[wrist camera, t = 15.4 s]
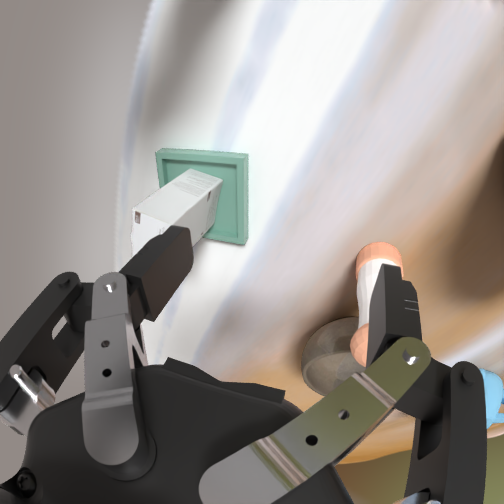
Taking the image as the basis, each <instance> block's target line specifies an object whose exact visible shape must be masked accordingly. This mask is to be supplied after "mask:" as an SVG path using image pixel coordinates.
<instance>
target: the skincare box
mask: <svg viewBox="0 0 504 504" xmlns="http://www.w3.org/2000/svg"><path fill="white" fill-rule="evenodd" d="M222 184H223V180H222V179H220V178H217V177H214V176H211V175H208V174H206V173H203V172H200V171H197V170H194V169H191V168H190V169H188V170H187V171H185V172H184V173H182V174H181V175H179V176H178V177H176V178H175V179H173V180H172V181H170V182H169V183H168V184H166V185H165V186H163V187H162V188H160V189H159V190H157V191H156V192H155V193H153V194H152V195H150V196H149V197H148V198H146V199H145V200H143V201H142V202H141V203H139V204H138V205H136V206H135V207H134V208H132V231H131V242H132V258H133V256H134V255H135V254H137V252H138V251H139V250H140V249H141V248H143V246H144V245H145V244H146V243H147V242H148V241H149V240H150V239H152V238H154V237H155V236H157V235H159V234H163V233H164V232H165V231H166V230H167V229H168V228H169V227H170V226H171V225H176V226H182V227H188V228H189V229H190V233H191V241H192V247H193V246H194V245H195V244H196V243H197V242H198V241H199V240H200V238H201V237H202V236H203V235H204V234H205V233H206V232H207V231H208V230H209V228H210V227H211V226H212V225H213V224H214V222H215V215H216V209H217V204H218V199H219V195H220V191H221V187H222Z"/></svg>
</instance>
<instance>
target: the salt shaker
mask: <svg viewBox="0 0 504 504" xmlns="http://www.w3.org/2000/svg"><path fill="white" fill-rule="evenodd" d="M382 263H384V264H390V265H395V266H400V267H401V273H402V279H403V266H402V259H401V255H400V253H399V251H398V250H397V249H396V248H395V247H394V246H392V245H390V244H388V243H383V242H376V243H371V244H369V245H367V246H365V247H364V248H363V249H362V250H361V251H360V252H359V254H358V256H357V261H356V280H357V283H358V284H357V299H358V306H359V326H358V330H357V331H356V333H355V334H354V335H353V337H352V339H351V343H350V348H351V352H352V355H353V357H354V358H355V359H356V361H357V362H358V363H359V364H361V365H362V366H364V367H366V359H367V345H368V329H369V307H370V300H371V295H372V292H373V289H374V286H375V283H376V280H377V276H378V273H379V270H380V267H381V265H382Z"/></svg>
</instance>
